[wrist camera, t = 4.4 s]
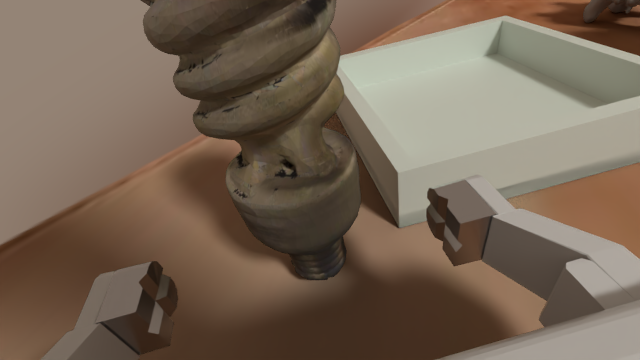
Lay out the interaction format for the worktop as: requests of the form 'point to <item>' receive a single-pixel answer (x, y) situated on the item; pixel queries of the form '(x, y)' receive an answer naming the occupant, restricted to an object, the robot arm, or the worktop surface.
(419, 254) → the worktop surface
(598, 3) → the gray elephant figurine
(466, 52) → the tray
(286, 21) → the light bulb
